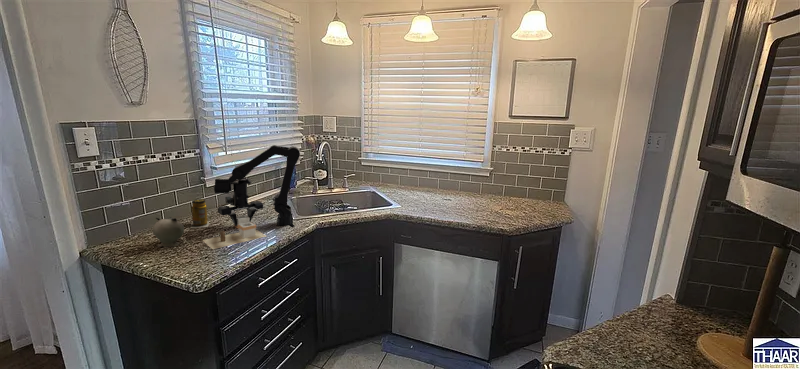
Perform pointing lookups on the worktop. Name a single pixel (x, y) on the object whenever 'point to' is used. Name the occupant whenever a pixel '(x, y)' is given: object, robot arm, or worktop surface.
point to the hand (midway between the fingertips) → (242, 225)
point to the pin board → (230, 239)
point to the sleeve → (242, 220)
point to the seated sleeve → (247, 230)
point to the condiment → (199, 214)
